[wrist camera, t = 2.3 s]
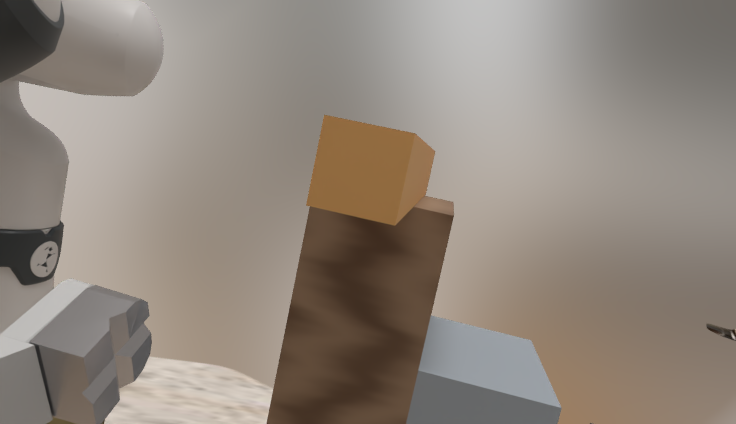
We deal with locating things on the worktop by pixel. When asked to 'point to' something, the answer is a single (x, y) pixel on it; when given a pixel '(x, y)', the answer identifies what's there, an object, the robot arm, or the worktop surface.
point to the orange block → (369, 170)
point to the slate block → (480, 379)
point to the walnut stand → (359, 316)
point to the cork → (62, 421)
